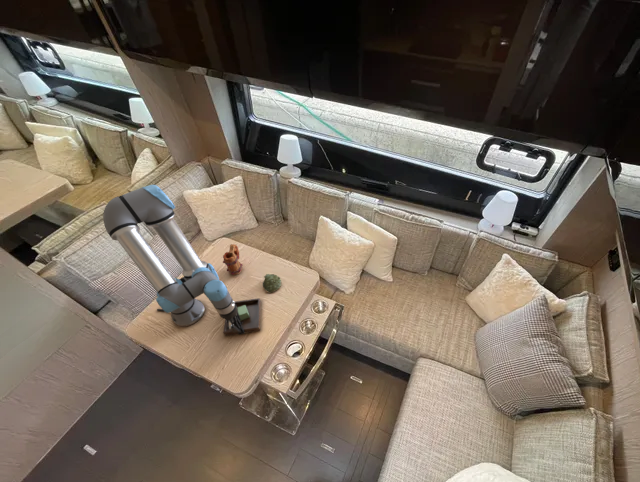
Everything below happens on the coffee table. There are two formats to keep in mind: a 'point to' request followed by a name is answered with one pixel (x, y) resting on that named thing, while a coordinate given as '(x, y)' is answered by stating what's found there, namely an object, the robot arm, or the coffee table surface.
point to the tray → (254, 316)
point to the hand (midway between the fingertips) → (241, 332)
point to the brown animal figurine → (232, 260)
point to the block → (243, 312)
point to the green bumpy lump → (271, 282)
